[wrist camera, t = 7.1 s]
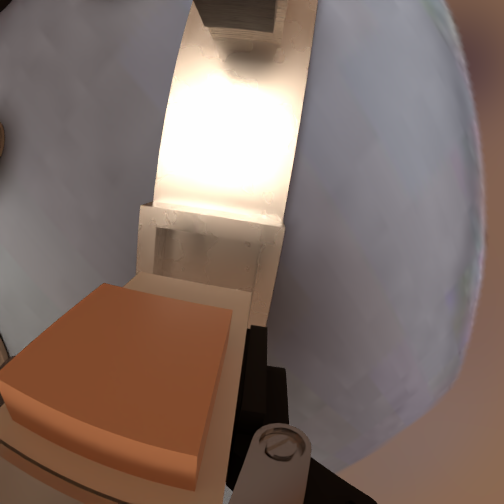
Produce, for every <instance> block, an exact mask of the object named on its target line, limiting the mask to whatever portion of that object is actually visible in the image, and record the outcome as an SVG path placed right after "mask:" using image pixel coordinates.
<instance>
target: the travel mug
mask: <svg viewBox="0 0 504 504" xmlns="http://www.w3.org/2000/svg"><path fill="white" fill-rule="evenodd" d="M10 2H11V0H0V11H2V10H3V9H4V8H5V7H6V6H7V5H8V4H9V3H10Z"/></svg>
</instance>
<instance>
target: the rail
mask: <svg viewBox="0 0 504 504" xmlns="http://www.w3.org/2000/svg"><path fill="white" fill-rule="evenodd" d="M317 3H318V0H193V2H192V6H191V9H190V12H189V16H188V19H187V23H186V27H185V30H184V34H183V38H182V42H181V46H180V50H179V54H178V58H177V62H176V67H175V71H174V76H173V80H172V85H171V90H170V95H169V100H168V105H167V110H166V116H165V122H164V127H163V133H162V140H161V146H160V153H159V160H158V167H157V174H156V182H155V191H154V200H153V201H152V202H149V203H146V204H143V205H141V206H140V218H139V230H138V245H137V265H136V275H137V274H138V273H139V272H145V273H150V274H155V275H160V276H165V277H170V278H176V279H181V280H186V281H191V282H197V283H202V284H207V285H213V286H218V287H224V288H230V289H235V290H241V291H247V292H252V293H251V301H250V308H249V316H248V323H247V328H248V329H250V327H251V325H256V326H262V327H266V322H267V318H268V313H269V308H270V303H271V298H272V293H273V288H274V283H275V278H276V273H277V268H278V263H279V258H280V253H281V248H282V243H283V237H284V232H285V226H284V223H283V216H284V211H285V205H286V200H287V194H288V189H289V183H290V177H291V171H292V166H293V160H294V154H295V148H296V142H297V136H298V130H299V124H300V118H301V112H302V105H303V99H304V93H305V86H306V80H307V73H308V67H309V60H310V53H311V46H312V39H313V32H314V25H315V18H316V10H317Z"/></svg>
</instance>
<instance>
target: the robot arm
mask: <svg viewBox="0 0 504 504" xmlns="http://www.w3.org/2000/svg"><path fill="white" fill-rule="evenodd" d="M14 357H15V356H12V357H10V358H8V355H7V352H6V350H5V347H4V344H3V342H2V340H1V338H0V370H1V369H2V368H3V367H4V366H5V365H6V364H7V363H9V362H10V361H11V360H12V359H13V358H14ZM4 403H5V402H4V400H3V398H2V395H1V393H0V407H1V406H2V405H3V404H4ZM311 452H312V446H311V442H310V440H309V438H308V436H307V435H306V434H305V433H304V432H303V431H301V430H300V429H298V428H296V427H294V426H291V425H289V415H288V398H287V383H286V370H285V368H279V367H272V366H267V327H262V326H256V325H251V327H250V329H248V328H247V330H246V338H245V345H244V353H243V360H242V367H241V375H240V382H239V389H238V396H237V404H236V411H235V418H234V425H233V432H232V440H231V447H230V454H229V461H228V468H227V475H226V485H227V486H228V487H229V488H230V489H231V490H232V491H233V493H232V495H231V498H230V500H229V503H228V504H377V503H376V501H374V500H373V499H372V498H371V497H369V496H368V495H366V494H364V493H363V492H361V491H360V490H358V489H356V488H355V487H354V486H352V485H350V484H349V483H347V482H346V481H344V480H343V479H341V478H340V477H338V476H337V475H336V474H334V473H333V472H331V471H330V470H328V469H327V468H325V467H324V466H323V465H321V464H320V463H318V462H317V461H316V460H314V459H313V458H312V457H311ZM0 504H119V503H116V502H114V501H111V500H108V499H106V498H103V497H101V496H98V495H96V494H93V493H91V492H88V491H86V490H84V489H82V488H79V487H77V486H75V485H73V484H71V483H69V482H67V481H65V480H63V479H61V478H59V477H57V476H55V475H53V474H51V473H49V472H47V471H45V470H43V469H42V468H40V467H38V466H36V465H35V464H33V463H31V462H29V461H28V460H26V459H24V458H23V457H21V456H20V455H18V454H16V453H15V452H13V451H12V450H10V449H9V448H7V447H6V446H4V445H3V444H1V443H0Z"/></svg>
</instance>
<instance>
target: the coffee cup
mask: <svg viewBox="0 0 504 504" xmlns="http://www.w3.org/2000/svg"><path fill="white" fill-rule="evenodd" d="M4 140H5V137H4V129H3V126H2V124H1V122H0V157H1V155H2V151H3V148H4Z"/></svg>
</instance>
